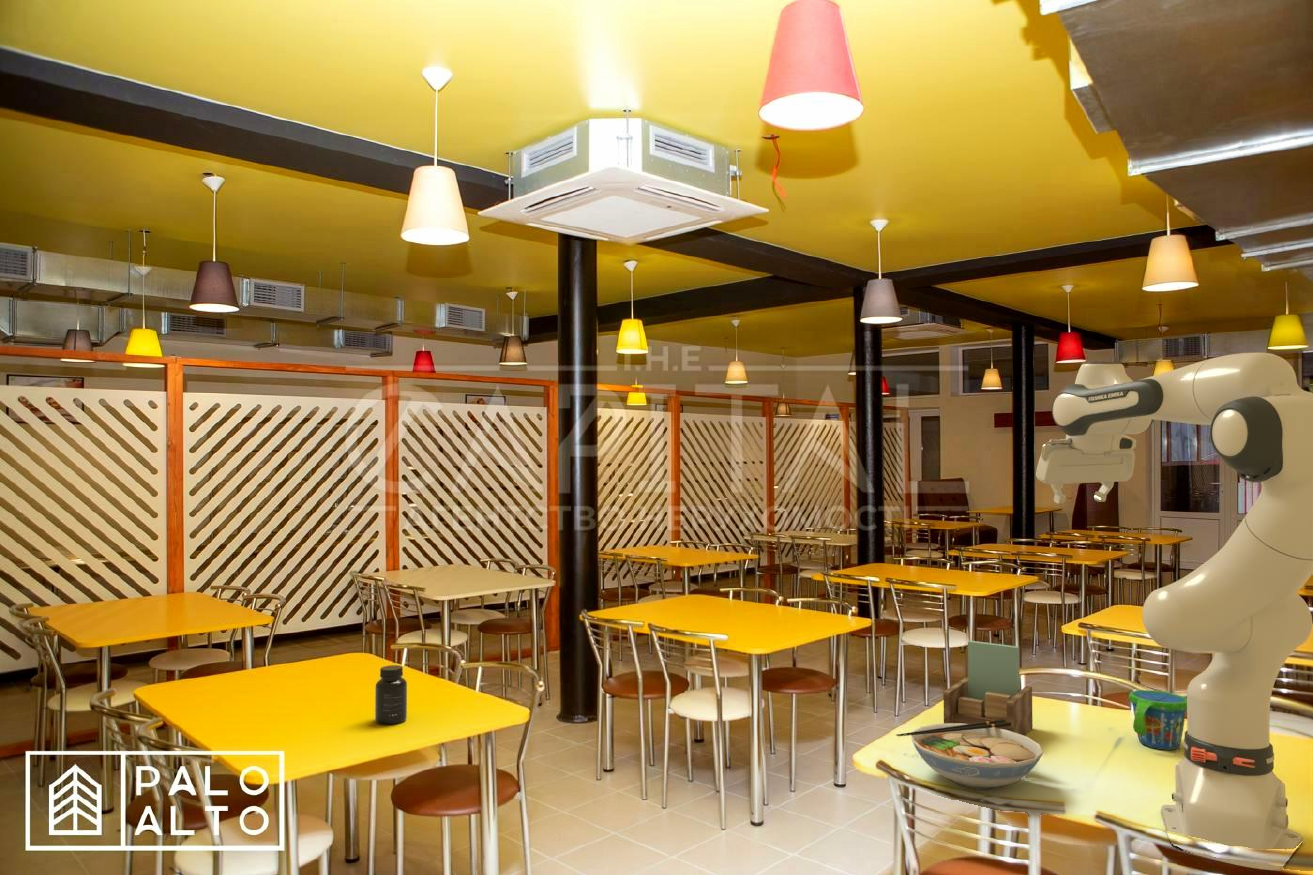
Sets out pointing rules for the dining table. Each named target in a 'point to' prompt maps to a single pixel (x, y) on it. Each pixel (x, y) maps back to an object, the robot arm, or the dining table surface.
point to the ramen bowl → (976, 752)
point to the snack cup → (1158, 718)
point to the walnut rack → (1016, 709)
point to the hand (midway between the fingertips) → (1079, 501)
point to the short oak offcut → (971, 706)
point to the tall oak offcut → (996, 705)
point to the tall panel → (992, 669)
